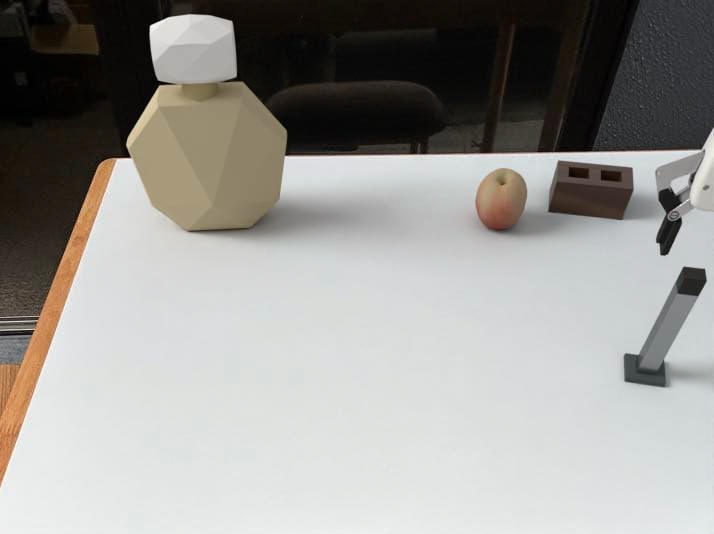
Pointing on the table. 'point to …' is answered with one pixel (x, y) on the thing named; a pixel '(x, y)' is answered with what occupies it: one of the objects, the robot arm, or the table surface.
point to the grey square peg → (671, 319)
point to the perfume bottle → (205, 131)
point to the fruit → (501, 198)
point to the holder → (591, 189)
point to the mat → (640, 378)
